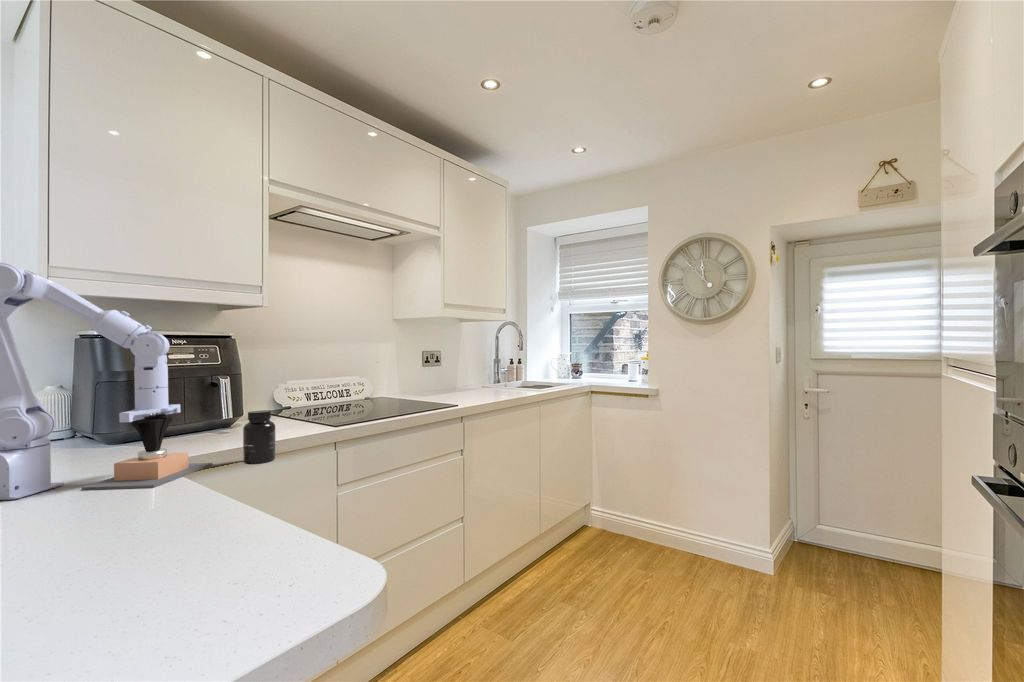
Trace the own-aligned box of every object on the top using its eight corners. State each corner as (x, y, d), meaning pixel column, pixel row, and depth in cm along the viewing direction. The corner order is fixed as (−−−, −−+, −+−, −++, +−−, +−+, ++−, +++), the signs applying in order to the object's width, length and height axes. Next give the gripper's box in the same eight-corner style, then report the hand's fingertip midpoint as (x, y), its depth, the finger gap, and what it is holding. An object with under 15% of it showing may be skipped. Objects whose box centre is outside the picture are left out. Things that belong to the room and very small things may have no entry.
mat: (153, 487, 90) (153, 485, 90) (81, 490, 90) (81, 487, 90) (212, 464, 108) (212, 462, 108) (152, 466, 108) (152, 464, 108)
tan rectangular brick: (158, 479, 95) (158, 462, 95) (114, 480, 95) (113, 463, 95) (188, 468, 104) (188, 452, 104) (148, 469, 104) (148, 453, 104)
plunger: (155, 475, 97) (155, 452, 97) (131, 476, 97) (131, 453, 97) (173, 469, 102) (172, 447, 102) (150, 469, 102) (150, 448, 102)
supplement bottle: (239, 466, 106) (238, 414, 106) (247, 459, 113) (247, 410, 113) (272, 463, 108) (271, 412, 108) (278, 457, 115) (277, 408, 115)
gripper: (143, 390, 92) (145, 458, 92) (193, 384, 107) (194, 443, 107) (108, 391, 92) (109, 459, 92) (162, 385, 107) (163, 444, 107)
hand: (152, 451), depth 99 cm, fingers closed, pressing on plunger
